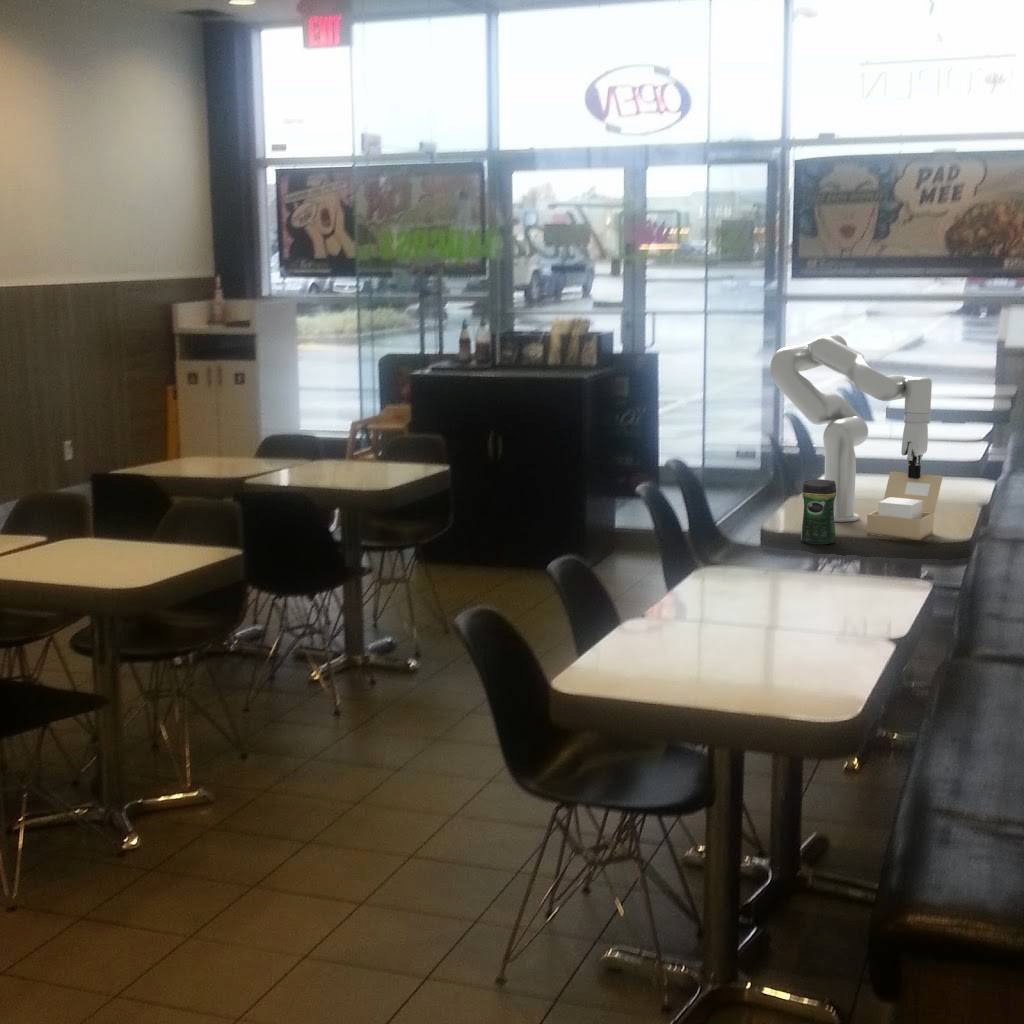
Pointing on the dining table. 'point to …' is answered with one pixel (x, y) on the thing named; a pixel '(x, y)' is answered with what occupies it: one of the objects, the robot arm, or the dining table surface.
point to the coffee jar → (818, 511)
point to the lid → (915, 489)
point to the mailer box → (900, 519)
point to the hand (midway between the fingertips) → (914, 477)
